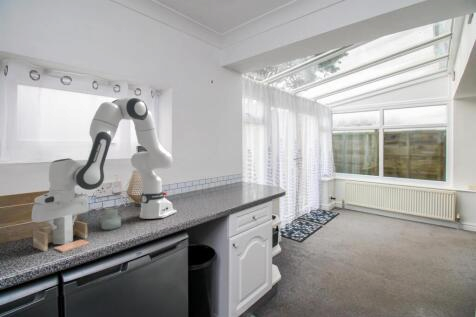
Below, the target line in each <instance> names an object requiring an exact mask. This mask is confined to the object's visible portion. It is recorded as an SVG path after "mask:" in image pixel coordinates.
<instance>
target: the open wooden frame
mask: <svg viewBox="0 0 476 317" xmlns="http://www.w3.org/2000/svg"><path fill="white" fill-rule="evenodd" d="M74 236H76V237H79V238H82V239H83V240H84V239H85V240H86V239H88V223H87V222H83V221H78V220H76V219H75V221H74V225H73V237H74ZM32 237H33V238H32V243H33V245H32V246H33V248H34V249H35V248H36V249H37V250H40V251H42V252H47V251H48V248H49V246H48V244H51V243H53V230H51V226H50V225H49V226H46V227H41V228H38V229H34V230H33V229H32Z"/></svg>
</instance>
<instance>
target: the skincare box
mask: <svg viewBox="0 0 476 317" xmlns="http://www.w3.org/2000/svg"><path fill="white" fill-rule="evenodd" d="M52 223H53V224H54V225H57V229H55V230H53V242H52V244H53V245H64V244H68V243H71V242H74V236H73V221H72V215H67V216H63V217H61V218H58V219H54V222H52Z"/></svg>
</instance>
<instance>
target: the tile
mask: <svg viewBox="0 0 476 317" xmlns="http://www.w3.org/2000/svg"><path fill="white" fill-rule="evenodd" d="M90 244H91V242H89V241H87V240H84V239H78V240H75V241H74V240H73V241H72V242H70V243H67V244H64V245H63V244H60V245H59V246H54V247H53V249H54V250H56V251H59V252H61V253H65V252H68V251H71V250H76V249H78V248H81V247H84V246H87V245H90Z"/></svg>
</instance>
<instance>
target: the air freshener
mask: <svg viewBox="0 0 476 317" xmlns="http://www.w3.org/2000/svg"><path fill="white" fill-rule="evenodd" d="M121 226H122V217H121V216H119V210H118V208H114V207H113V208H107V209H105V210H104V218H102V220H101V229H102V230H105V231H110V230H111V231H113V230H115V229H119V228H120V227H121Z"/></svg>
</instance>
